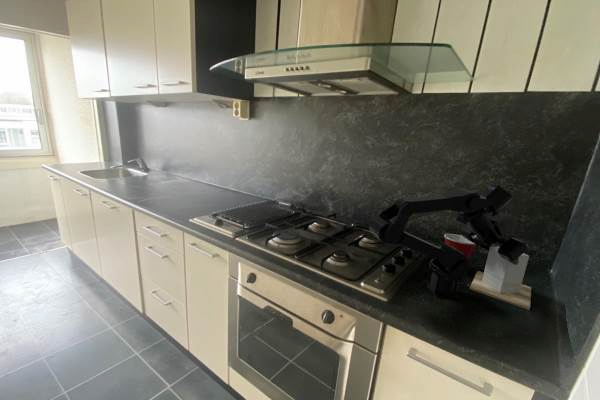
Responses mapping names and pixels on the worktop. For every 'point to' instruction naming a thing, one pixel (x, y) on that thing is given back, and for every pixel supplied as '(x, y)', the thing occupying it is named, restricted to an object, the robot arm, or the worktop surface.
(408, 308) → the worktop surface
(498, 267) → the supplement box
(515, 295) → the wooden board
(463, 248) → the plastic cup
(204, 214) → the worktop surface
